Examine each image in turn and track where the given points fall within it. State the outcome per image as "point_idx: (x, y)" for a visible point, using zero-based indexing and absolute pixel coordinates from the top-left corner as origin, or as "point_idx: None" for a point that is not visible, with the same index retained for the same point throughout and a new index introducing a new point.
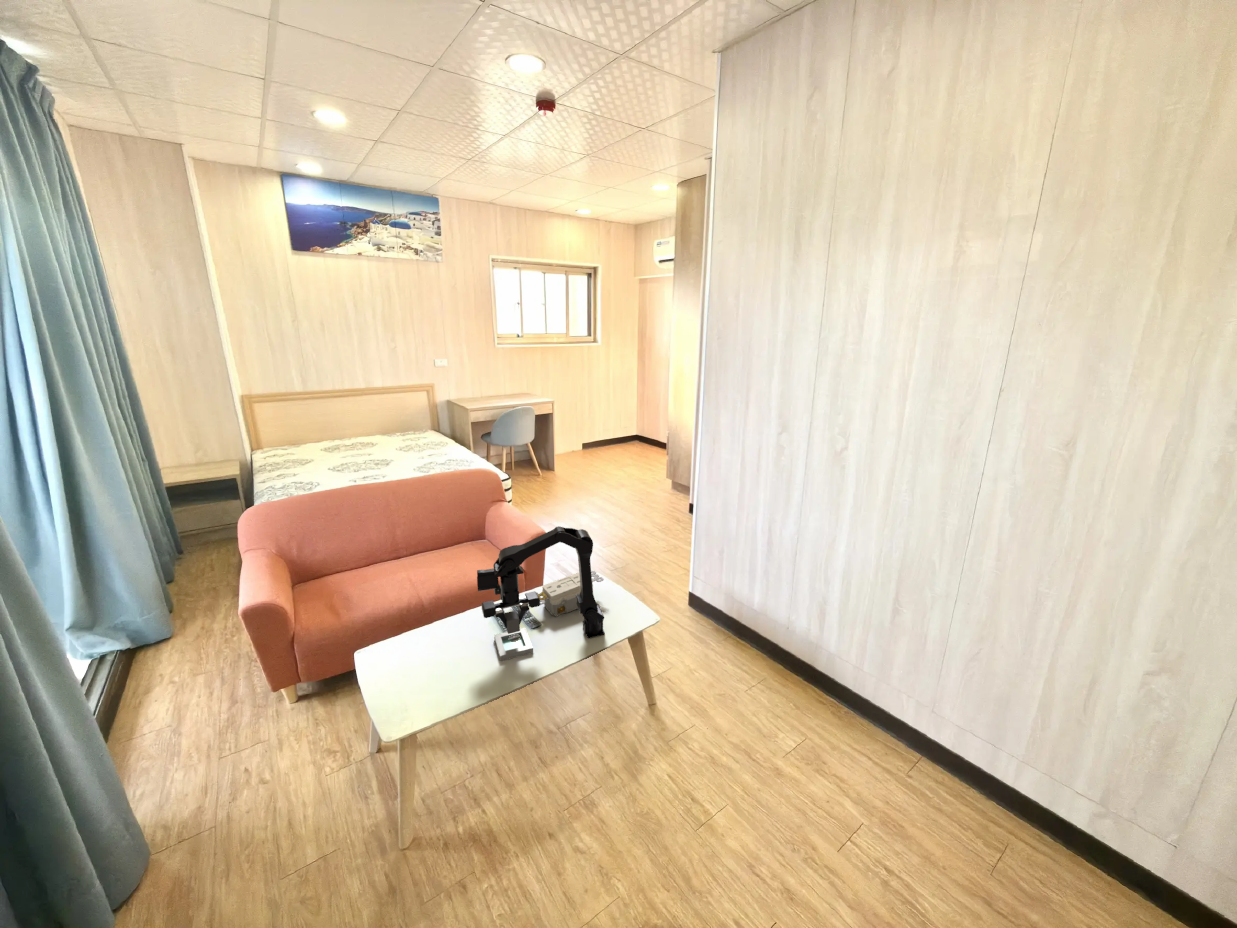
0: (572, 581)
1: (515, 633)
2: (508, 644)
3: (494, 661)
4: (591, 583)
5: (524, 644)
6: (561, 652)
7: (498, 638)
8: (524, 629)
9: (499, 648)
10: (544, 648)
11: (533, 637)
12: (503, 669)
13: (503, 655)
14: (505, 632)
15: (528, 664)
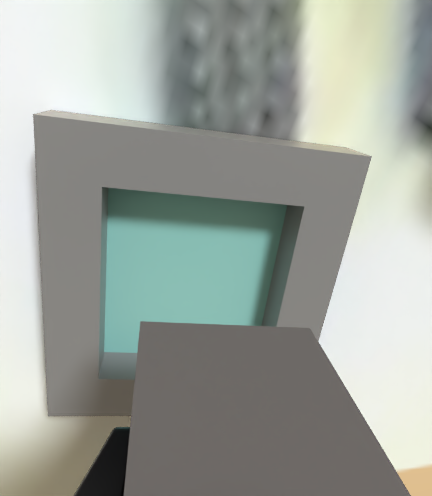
0: None
1: (253, 199)
2: (157, 251)
3: (16, 369)
4: None
5: (266, 321)
6: (414, 430)
7: (72, 202)
8: (351, 184)
9: (57, 338)
10: (360, 373)
11: (363, 244)
12: (66, 446)
13: (75, 414)
14: (166, 138)
15: None
